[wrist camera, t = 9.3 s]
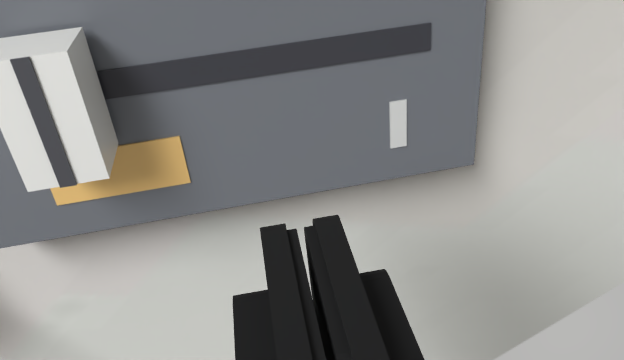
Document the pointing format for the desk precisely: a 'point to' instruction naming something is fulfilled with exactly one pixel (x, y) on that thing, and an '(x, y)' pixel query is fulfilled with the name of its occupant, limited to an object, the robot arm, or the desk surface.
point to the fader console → (254, 102)
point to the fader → (54, 110)
